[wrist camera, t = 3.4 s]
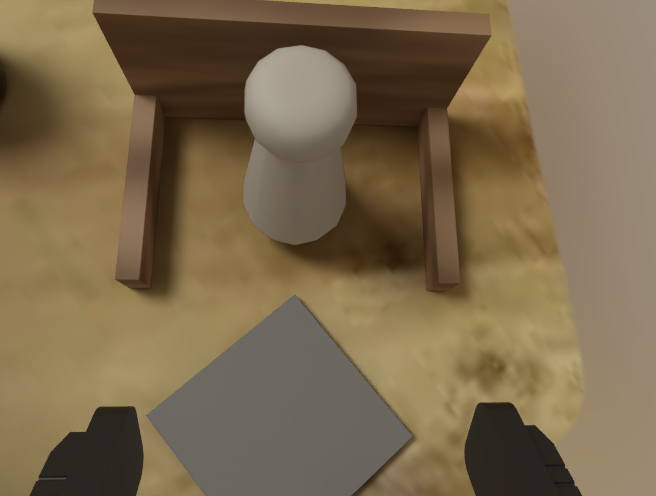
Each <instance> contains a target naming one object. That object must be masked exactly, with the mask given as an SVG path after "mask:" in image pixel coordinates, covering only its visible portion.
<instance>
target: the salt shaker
mask: <svg viewBox="0 0 656 496" xmlns="http://www.w3.org/2000/svg"><path fill="white" fill-rule="evenodd" d="M244 113H245V117H246V121H247V123H248V125H249V127H250V129H251V131H252V133H253V135H254V138H255V141H254V145H253V148H252V152H251V156H250V160H249V164H248V167H247V171H246V175H245V179H244V196H243V204H244V206H245V208H246V210H247V212H248V215H249V217H250V219H251V221H252V223H253V225H254V226H255V227H256V228H258V229H259V230H260V231H262V232H263V233H264V234H266V235H267V236H268V237H270V238H271V239H272V240H276V241H280V242H284V243H288V244H292V245H298V244H302V243H307V242H311V241H315V240H318V239H319V238H320V237H322V236H323V235H324V234H326V233H327V232H329V231H330V230H331V229H333V228H334V227H335V226H337V224H338V222H339V219H340V217H341V215H342V213H343V211H344V208H345V206H346V182H345V174H344V166H343V158H342V150H341V146H342V145H343V144H344V143H345V141H346V139H347V137H348V135H349V133H350V131H351V129H352V126H353V124H354V122H355V120H356V117H357V97H356V84H355V82H354V80H353V78H352V77H351V75H350V73H349V72H348V70H347V68H346V66H345V65H344V64H343V63H342V62H340V61H339V60H337V59H336V58H335V57H333V56H332V55H331V54H329V53H328V52H327V51H325V50H321V49H316V48H312V47H308V46H303V45H299V46H292V47H285V48H278V49H276V50H275V51H273V52H272V53H270V54H269V55H267V56H266V57H264V58H263V59H261V60H259V61H258V63H257V64H256V66H255V67H254V69H253V71H252V72H251V74H250V76H249V77H248V79H247V81H246V86H245V109H244Z"/></svg>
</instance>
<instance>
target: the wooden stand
mask: <svg viewBox="0 0 656 496" xmlns="http://www.w3.org/2000/svg"><path fill="white" fill-rule="evenodd" d="M93 14H94V16H95V18H96V20H97V22H98V24H99V26H100V28H101V30H102V32H103V34H104V36H105V38H106V40H107V42H108V44H109V46H110V48H111V49H112V51H113V53H114V55H115V57H116V59H117V61H118V63H119V65H120V67H121V69H122V71H123V73H124V75H125V77H126V79H127V81H128V82H129V84H130V86H131V88H132V90H133V92H134V94H135V97H134V106H133V116H132V125H131V135H130V144H129V153H128V163H127V172H126V182H125V191H124V201H123V210H122V219H121V229H120V238H119V248H118V257H117V266H116V276H115V280H117V281H119V282H120V283H122V284H124V285H125V286H127V287H128V288H151V279H152V267H153V256H154V244H155V233H156V221H157V210H158V198H159V187H160V175H161V164H162V152H163V141H164V129H165V118H166V117H183V118H208V119H233V120H246V117H245V113H244V109H245V86H246V81H247V79H248V77H249V76H250V74H251V72H252V71H253V69H254V67H255V66H256V64H257V63H258V61H259V60H261V59H263V58H264V57H266V56H267V55H269V54H270V53H272V52H273V51H275V50H276V49H278V48H285V47H292V46H299V45H303V46H308V47H312V48H316V49H321V50H325V51H327V52H328V53H329V54H331V55H332V56H333V57H335V58H336V59H337V60H339V61H340V62H342V63H343V64H344V65H345V66H346V68H347V70H348V72H349V73H350V75H351V77H352V78H353V80H354V82H355V84H356V97H357V117H356V120H355V122H354V124H359V125H384V126H409V127H417V131H418V148H419V165H420V182H421V200H422V217H423V234H424V251H425V269H426V286H427V291H447V290H449V289H451V288H453V287H454V286H456V285H458V284H460V272H459V259H458V246H457V233H456V219H455V206H454V193H453V180H452V167H451V154H450V140H449V127H448V114H447V107H448V106H449V104H450V102H451V101H452V99H453V98H454V96H455V94H456V93H457V91H458V89H459V88H460V86H461V84H462V83H463V81H464V79H465V78H466V76H467V75H468V73H469V71H470V70H471V68H472V66H473V65H474V63H475V61H476V60H477V58H478V56H479V55H480V53H481V51H482V50H483V48H484V47H485V45H486V43H487V42H488V40H489V38H490V37H491V28H490V18H489V14H478V13H461V12H445V11H429V10H412V9H396V8H379V7H363V6H347V5H330V4H314V3H297V2H281V1H265V0H94V6H93Z"/></svg>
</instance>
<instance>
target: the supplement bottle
mask: <svg viewBox="0 0 656 496" xmlns="http://www.w3.org/2000/svg"><path fill="white" fill-rule="evenodd" d="M5 88H6V77H5V72H4V69H3V66H2V64H1V62H0V103H1V101H2V99H3V96H4V93H5Z"/></svg>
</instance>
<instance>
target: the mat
mask: <svg viewBox="0 0 656 496" xmlns="http://www.w3.org/2000/svg"><path fill="white" fill-rule="evenodd" d="M146 416H147V417H148V419H149V420H150V421H151V423H152V424H153V425H154V427H155V428H156V429H157V431H158V432H159V433H160V435H161V436H162V437H163V439H164V440H165V441H166V443H167V444H168V445H169V447H170V448H171V450H172V451H173V452H174V454H175V455H176V456H177V458H178V459H179V460H180V462H181V463H182V464H183V466H184V467H185V468H186V470H187V471H188V472H189V474H190V475H191V476H192V478H193V479H194V480H195V482H196V483H197V485H198V486H199V487H200V489H201V490H202V491H203V493H204V494H205V495H206V496H351V495H352V494H354V493H355V492H356V491H357V490H358V489H359V488H360V487H361V486H362V485H363V484H364V483H365V482H366V481H367V480H368V479H369V478H370V477H371V476H372V475H373V474H374V473H375V472H376V471H377V470H378V469H379V468H380V467H381V466H382V465H383V464H384V463H386V462H387V461H388V460H389V459H390V458H391V457H392V456H393V455H394V454H395V453H396V452H397V451H398V450H399V449H400V448H401V447H402V446H403V445H404V444H405V443H406V442H407V441H408V440H409V439H410V438H411V437H412V435H411V434H410V432H409V431H408V430H407V429H406V428H405V426H404V425H403V424H402V423H401V422H400V420H399V419H398V418H397V417H396V416H395V414H394V413H393V412H392V411H391V410H390V408H389V407H388V406H387V405H386V403H385V402H384V401H383V400H382V399H381V397H380V396H379V395H378V394H377V393H376V391H375V390H374V389H373V388H372V387H371V385H370V384H369V383H368V382H367V381H366V379H365V378H364V377H363V376H362V375H361V373H360V372H359V371H358V370H357V369H356V367H355V366H354V365H353V364H352V363H351V361H350V360H349V359H348V358H347V357H346V355H345V354H344V353H343V352H342V351H341V349H340V348H339V347H338V346H337V345H336V343H335V342H334V341H333V340H332V339H331V337H330V336H329V335H328V334H327V333H326V331H325V330H324V329H323V328H322V326H321V325H320V324H319V323H318V322H317V320H316V319H315V318H314V317H313V316H312V314H311V313H310V312H309V311H308V310H307V308H306V307H305V306H304V305H303V304H302V302H301V301H300V300H299V299H298V298H297V296H296V295H294V296H292V297H291V298H290V299H289V300H288V301H286V302H285V303H284V304H283V305H281V306H280V307H279V308H278V309H276V310H275V311H274V312H273V313H272V314H270V315H269V316H268V317H267V318H265V319H264V320H263V321H262V322H260V323H259V324H258V325H257V326H256V327H254V328H253V329H252V330H251V331H249V332H248V333H247V334H246V335H244V336H243V337H242V338H241V339H240V340H238V341H237V342H236V343H235V344H233V345H232V346H231V347H230V348H228V349H227V350H226V351H225V352H224V353H222V354H221V355H220V356H219V357H217V358H216V359H215V360H214V361H212V362H211V363H210V364H209V365H208V366H206V367H205V368H204V369H203V370H201V371H200V372H199V373H198V374H197V375H195V376H194V377H193V378H192V379H190V380H189V381H188V382H187V383H185V384H184V385H183V386H182V387H181V388H179V389H178V390H177V391H176V392H174V393H173V394H172V395H171V396H169V397H168V398H167V399H166V400H165V401H163V402H162V403H161V404H160V405H158V406H157V407H156V408H155V409H153V410H152V411H151V412H150V413H149V414H147V415H146Z"/></svg>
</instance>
